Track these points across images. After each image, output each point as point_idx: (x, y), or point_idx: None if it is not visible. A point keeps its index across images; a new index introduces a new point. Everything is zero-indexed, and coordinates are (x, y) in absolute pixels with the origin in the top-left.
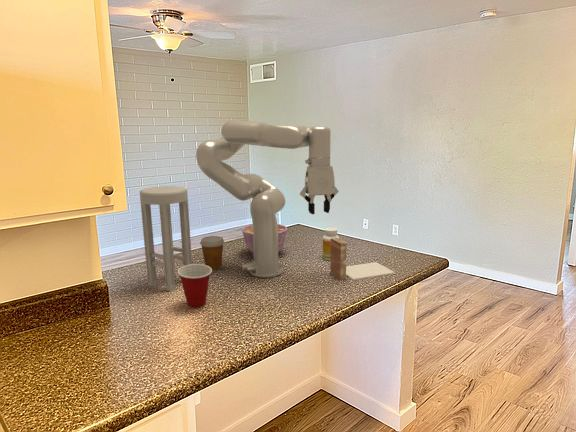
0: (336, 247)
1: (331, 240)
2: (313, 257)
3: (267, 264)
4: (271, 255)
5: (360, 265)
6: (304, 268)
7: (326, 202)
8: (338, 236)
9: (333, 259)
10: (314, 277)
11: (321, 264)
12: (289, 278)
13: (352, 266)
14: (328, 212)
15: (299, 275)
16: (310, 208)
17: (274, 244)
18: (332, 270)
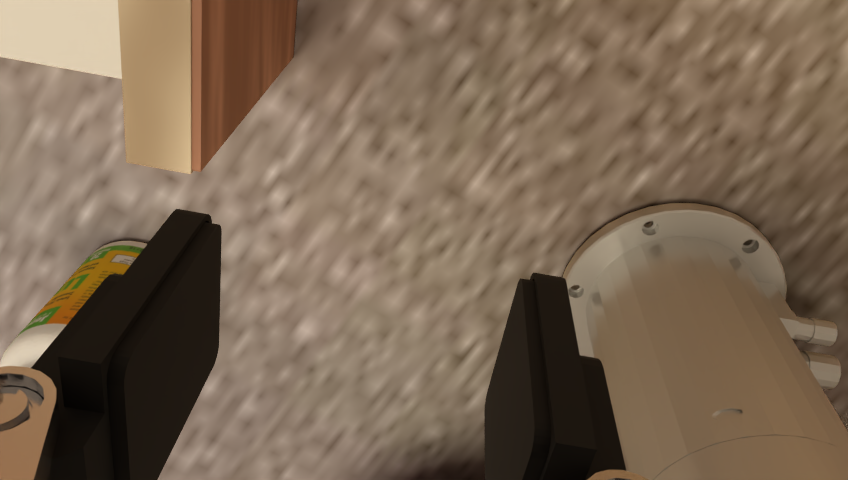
0: (224, 15)
1: (207, 147)
2: (244, 351)
3: (740, 280)
4: (727, 314)
5: (10, 37)
6: (408, 227)
7: (127, 407)
8: (4, 362)
9: (263, 40)
10: (449, 46)
11: (262, 226)
12: (612, 129)
13: (80, 53)
14: (192, 212)
15: (517, 139)
16: (603, 398)
17: (718, 375)
18: (288, 30)
